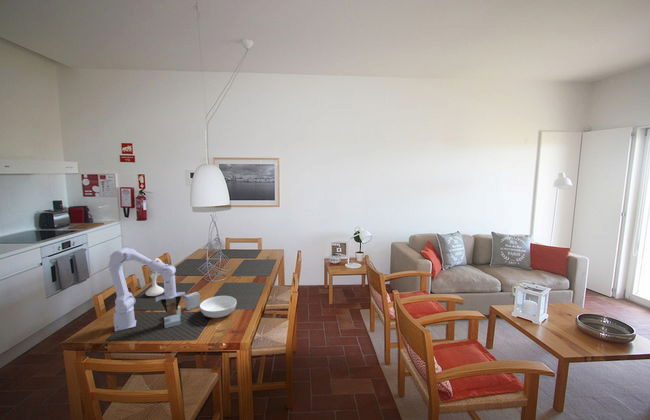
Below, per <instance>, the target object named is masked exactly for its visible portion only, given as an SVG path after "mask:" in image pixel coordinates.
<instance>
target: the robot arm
mask: <svg viewBox="0 0 650 420" xmlns="http://www.w3.org/2000/svg"><path fill="white" fill-rule="evenodd" d="M108 261H109V262H108V268H109V273H110V275H111V279H112V284H113V286H114V290H115V291H114V292H115V293H116V297H115V300H114V303H115V306H114V310H115V312H113V326H114V332H119V331H123V330H127V329H128V330H129V329H131V328H135V327H137V326H136V325H137V319H136V318H135V307H134V305H135V304H136V298H135V297H134V296H133V293H132V292H130V291H129V289H128V285H127V281H126V278H125V274H124V270H123V267H122V265H123V264H124V263H125V262H129V261H135V262H138V263H139V264H142V265H145V266H147V267H148V269H149V270H151V271H152V272H155V273H156V274H157V273H158V275H159V274H160V276H161V277H162V279H163V289H164V292H163V293H164V294H163V295H162V294H161V295H157V296H155V302H156V303H157V302H159V301H160V304H161V305H162V306H163V308H164V311H165V313H167V300H172V299H175V302H176V310H178V305H179V304H180V302H181V299H182V297H184V296H185V295H186V291H180V292H179V291H177V287H176V272H177V268H176V266H175V265H173V264H168V263H164V262H163V261H162V262H163V263H162V262H160V259H159V260H155V259H150V258H149V257H147V256H145V255H144V254H141V253H140V252H138V251H137V250H136V249H135V248H132V247H129V246H123V247H122V248H119V249H117V250H116V251H113V252H112V253H111V254H110V256H109V260H108ZM179 306H180V305H179Z"/></svg>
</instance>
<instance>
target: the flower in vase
mask: <svg viewBox="0 0 650 420" xmlns="http://www.w3.org/2000/svg"><path fill="white" fill-rule="evenodd" d="M154 260H160V262H162V263H164V262H163V261H162V259H160V258H159V257H156V258H155V259H154ZM158 275H159V273H158V274H157V273H156V272H155V271H153V270H151V272H150V275H149V277H150V278H151V282H152V283H151V284H152V285H151V287H149V288H148V289H147V290H146V291H145V296H148V297H158V296H161V295H162V294H163V293H165V292H164V287H162V286H159V285H158V283H157V278H158Z"/></svg>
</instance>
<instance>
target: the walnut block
mask: <svg viewBox="0 0 650 420" xmlns="http://www.w3.org/2000/svg"><path fill="white" fill-rule="evenodd" d="M166 306H167V312H166V314H167V317H169V316H172V315H176V314H177V312H176V301H174V302H173V301H172V302H169V303H166Z"/></svg>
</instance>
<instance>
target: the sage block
mask: <svg viewBox="0 0 650 420" xmlns="http://www.w3.org/2000/svg"><path fill="white" fill-rule="evenodd" d="M181 307H182V306H180V305H178V310H176V312H177V314H176V315H178V314H180V317H181V316H182V308H181ZM172 316H173V315H172Z"/></svg>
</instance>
